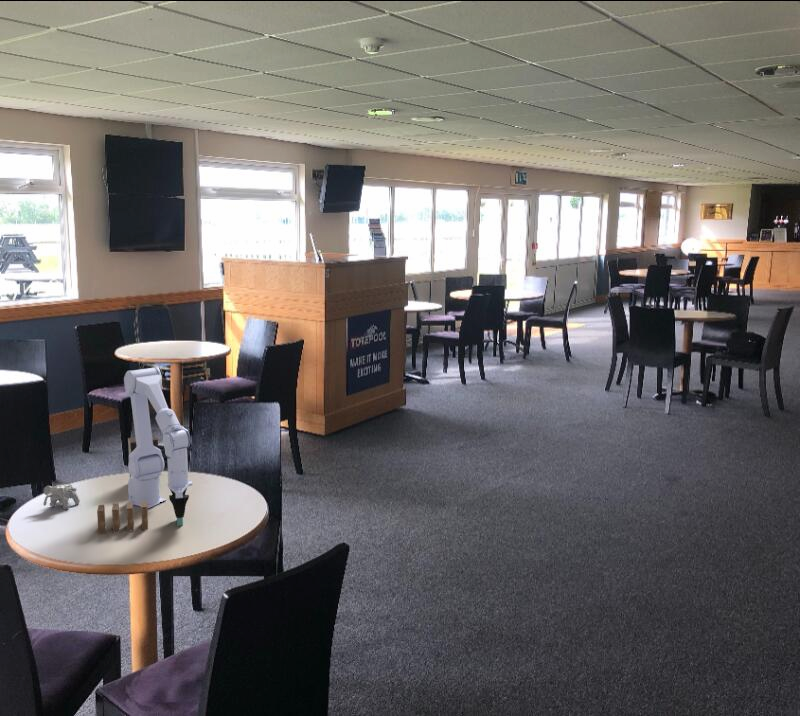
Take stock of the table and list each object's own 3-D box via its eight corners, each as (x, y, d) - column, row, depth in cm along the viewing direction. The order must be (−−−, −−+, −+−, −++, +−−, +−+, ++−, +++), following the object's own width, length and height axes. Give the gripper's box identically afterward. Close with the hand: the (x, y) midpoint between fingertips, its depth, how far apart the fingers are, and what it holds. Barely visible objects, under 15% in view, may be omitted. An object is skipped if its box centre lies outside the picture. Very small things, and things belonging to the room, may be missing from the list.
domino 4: (142, 529, 223) (141, 507, 222) (142, 523, 228) (141, 501, 226) (147, 529, 224) (146, 506, 222) (148, 522, 228) (147, 500, 227)
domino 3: (127, 531, 222) (126, 508, 221) (128, 524, 227) (127, 502, 225) (133, 530, 222) (132, 508, 221) (134, 523, 227) (132, 501, 226)
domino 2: (113, 532, 221) (111, 510, 219) (114, 525, 225) (112, 503, 224) (119, 532, 221) (117, 509, 220) (119, 525, 226) (118, 503, 225)
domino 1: (98, 534, 220) (97, 511, 218) (99, 527, 224) (98, 505, 223) (104, 533, 220) (103, 510, 219) (105, 526, 225) (104, 504, 223)
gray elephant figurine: (82, 502, 244) (81, 479, 243) (68, 515, 232) (66, 490, 231) (53, 502, 243) (52, 479, 242) (37, 515, 231) (36, 491, 230)
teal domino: (177, 526, 226) (176, 504, 225) (177, 519, 231) (176, 497, 229) (182, 525, 226) (182, 503, 225) (182, 519, 231) (181, 497, 230)
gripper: (192, 476, 220) (194, 520, 222) (190, 460, 233) (192, 502, 236) (167, 478, 218) (169, 522, 220) (167, 462, 231) (168, 504, 234)
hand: (179, 512), depth 228 cm, fingers open, 7 cm apart
